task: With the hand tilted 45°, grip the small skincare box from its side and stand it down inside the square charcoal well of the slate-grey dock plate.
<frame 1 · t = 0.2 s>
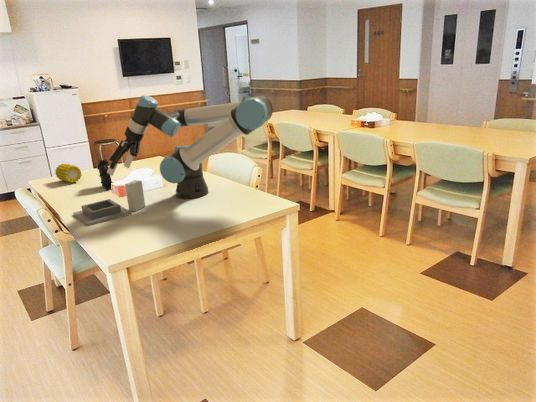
hand: (118, 170, 185), 15 cm above the table, tool tilted 35°, fingers open, 13 cm apart
dock: (102, 214, 175), on the table
skincare box: (137, 209, 180), on the table
magazine: (107, 187, 214), on the table
food: (70, 182, 228), on the table
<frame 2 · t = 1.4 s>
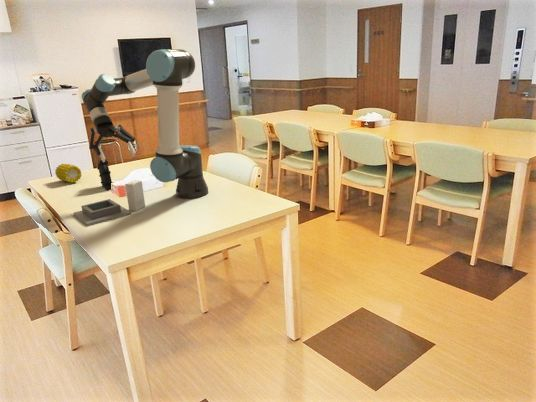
hand: (119, 157, 181), 21 cm above the table, tool tilted 45°, fingers open, 13 cm apart
nothing on the table moved.
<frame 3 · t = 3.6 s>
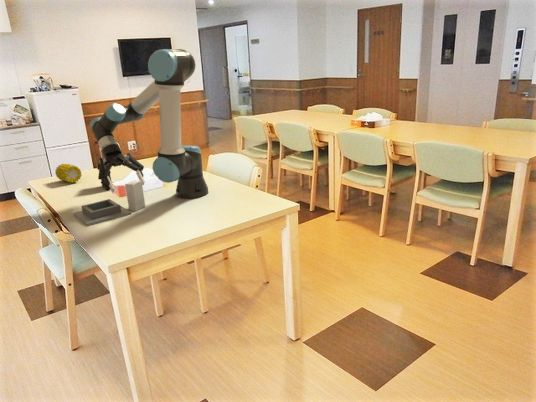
hand: (128, 186, 180), 9 cm above the table, tool tilted 45°, fingers open, 13 cm apart
nothing on the table moved.
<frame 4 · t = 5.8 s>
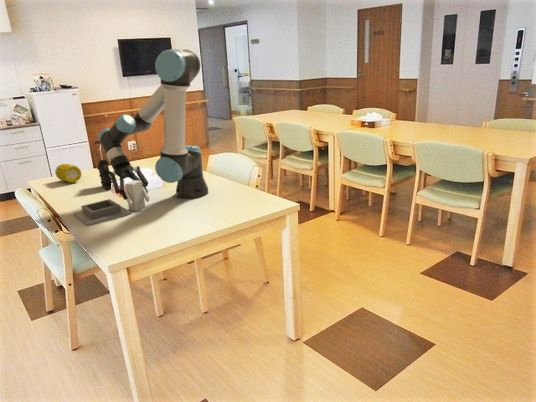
hand: (139, 202, 176), 4 cm above the table, tool tilted 45°, fingers closed on skincare box, 7 cm apart
skincare box: (137, 209, 180), on the table, touching gripper
everything else where it was.
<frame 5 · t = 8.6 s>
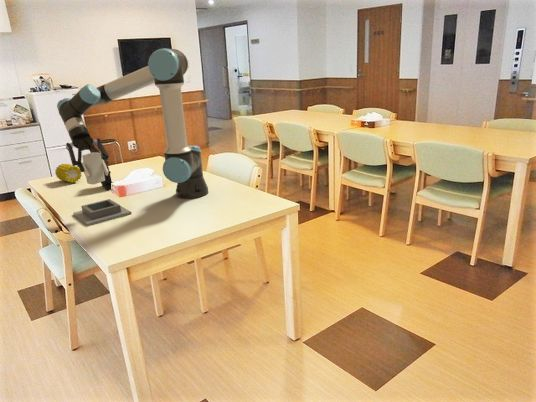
hand: (97, 175, 167), 18 cm above the table, tool tilted 45°, fingers closed on skincare box, 7 cm apart
skincare box: (96, 183, 171), point 14 cm above the table, touching gripper
everything else where it was.
when the fingers open (6 cm above the table, at t = 11.6 s): skincare box drops 1 cm, resting on dock.
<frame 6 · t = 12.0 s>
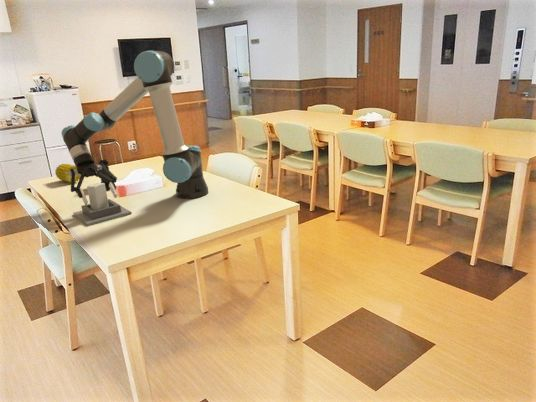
hand: (101, 199, 171), 7 cm above the table, tool tilted 45°, fingers open, 11 cm apart
skincare box: (101, 212, 175), point 1 cm above the table, touching dock
everything else where it was.
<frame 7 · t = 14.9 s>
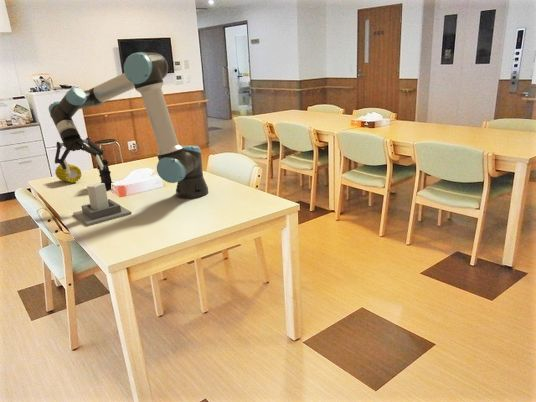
hand: (86, 171, 177), 17 cm above the table, tool tilted 45°, fingers open, 13 cm apart
nothing on the table moved.
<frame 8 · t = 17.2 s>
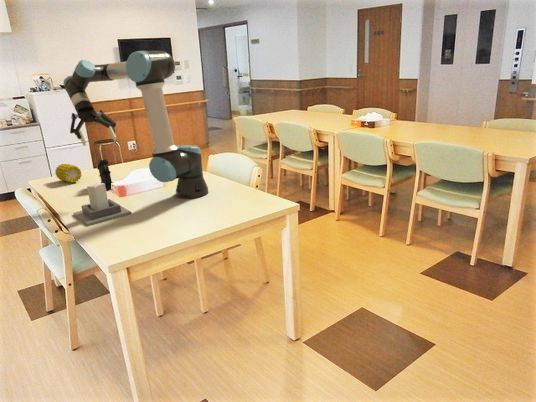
hand: (100, 141, 185), 28 cm above the table, tool tilted 45°, fingers open, 13 cm apart
nothing on the table moved.
at the end: skincare box 0.4 cm off-centre on the dock, point 1.0 cm above the dock's base; skincare box tilted 0°; the gripper is holding nothing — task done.
